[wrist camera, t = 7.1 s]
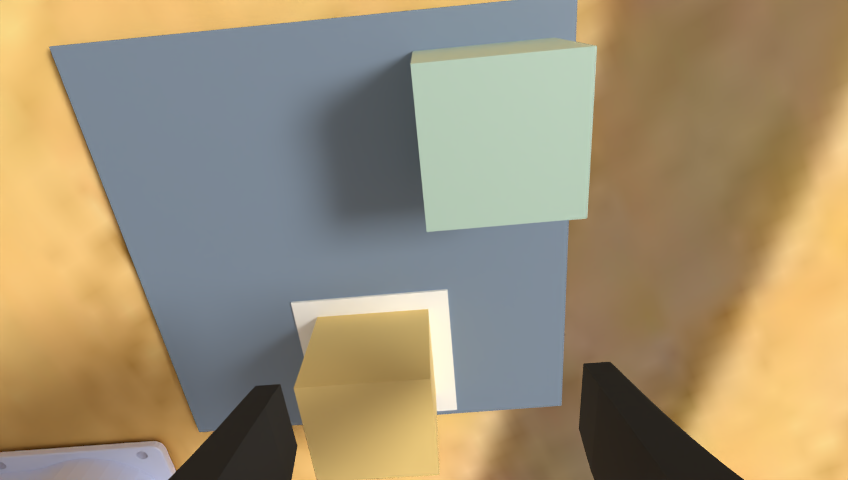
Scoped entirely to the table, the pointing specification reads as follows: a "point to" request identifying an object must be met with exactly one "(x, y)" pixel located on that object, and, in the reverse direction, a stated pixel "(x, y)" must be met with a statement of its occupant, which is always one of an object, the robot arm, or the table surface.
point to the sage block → (504, 132)
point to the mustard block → (370, 396)
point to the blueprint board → (313, 202)
